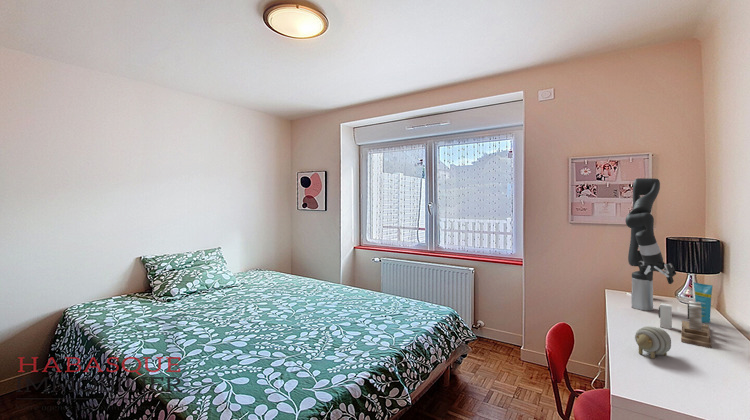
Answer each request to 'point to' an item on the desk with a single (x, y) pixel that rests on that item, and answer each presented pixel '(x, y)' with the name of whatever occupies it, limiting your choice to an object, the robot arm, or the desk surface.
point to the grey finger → (665, 315)
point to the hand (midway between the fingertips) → (660, 281)
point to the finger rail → (696, 335)
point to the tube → (704, 299)
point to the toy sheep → (653, 341)
